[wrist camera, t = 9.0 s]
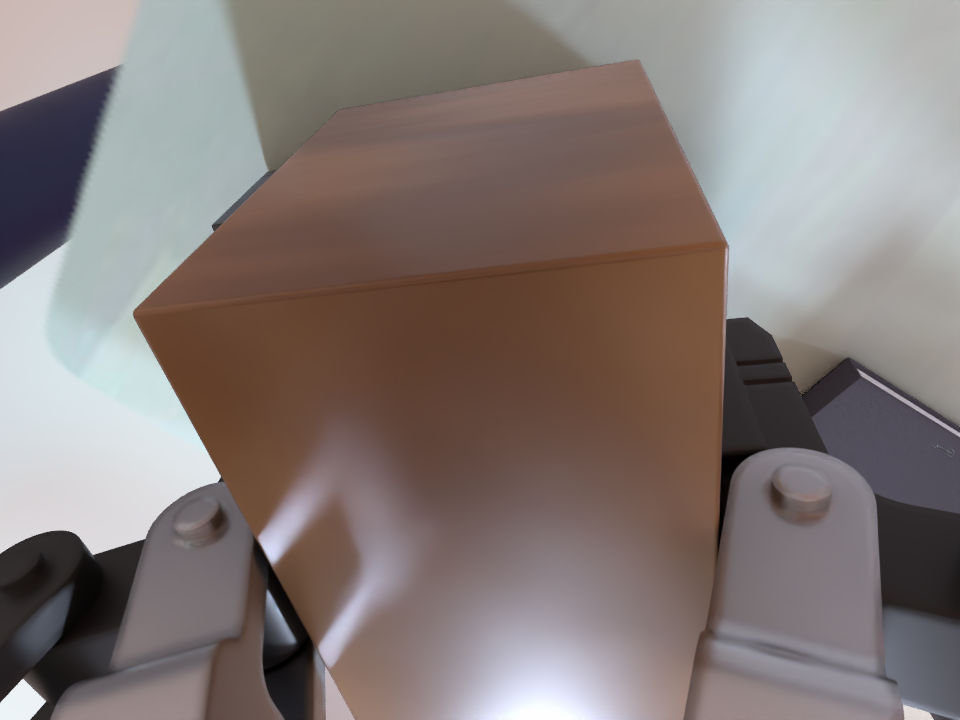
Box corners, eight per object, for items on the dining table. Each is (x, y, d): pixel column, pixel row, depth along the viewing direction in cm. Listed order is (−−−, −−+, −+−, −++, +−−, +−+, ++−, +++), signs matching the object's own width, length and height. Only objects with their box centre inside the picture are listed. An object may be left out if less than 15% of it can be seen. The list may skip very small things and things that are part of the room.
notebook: (848, 356, 30) (578, 585, 42) (861, 376, 29) (579, 607, 40) (1033, 472, 33) (733, 657, 45) (1052, 495, 32) (739, 680, 43)
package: (445, 482, 14) (387, 782, 10) (337, 109, 10) (127, 311, 5) (656, 470, 14) (710, 791, 9) (639, 57, 9) (731, 241, 4)
